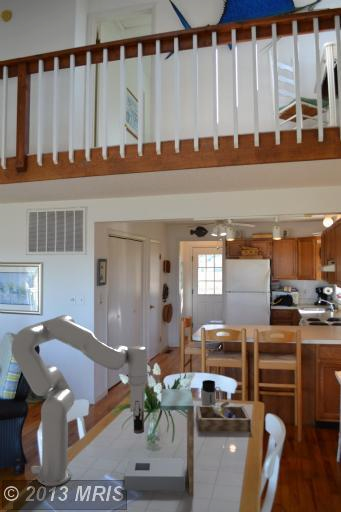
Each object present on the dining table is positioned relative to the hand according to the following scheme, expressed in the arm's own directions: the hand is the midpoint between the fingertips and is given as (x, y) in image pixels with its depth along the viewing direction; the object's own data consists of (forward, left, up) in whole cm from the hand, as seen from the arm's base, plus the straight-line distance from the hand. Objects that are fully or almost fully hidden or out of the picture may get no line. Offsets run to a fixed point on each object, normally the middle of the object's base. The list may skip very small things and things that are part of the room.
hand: (138, 426), depth 150 cm
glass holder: (+37, +79, -20) cm, 89 cm away
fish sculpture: (+42, +55, -20) cm, 72 cm away
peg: (0, 0, -2) cm, 2 cm away
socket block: (+7, 0, -20) cm, 21 cm away
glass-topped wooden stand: (+15, 0, -20) cm, 25 cm away
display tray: (+40, +56, -20) cm, 71 cm away
